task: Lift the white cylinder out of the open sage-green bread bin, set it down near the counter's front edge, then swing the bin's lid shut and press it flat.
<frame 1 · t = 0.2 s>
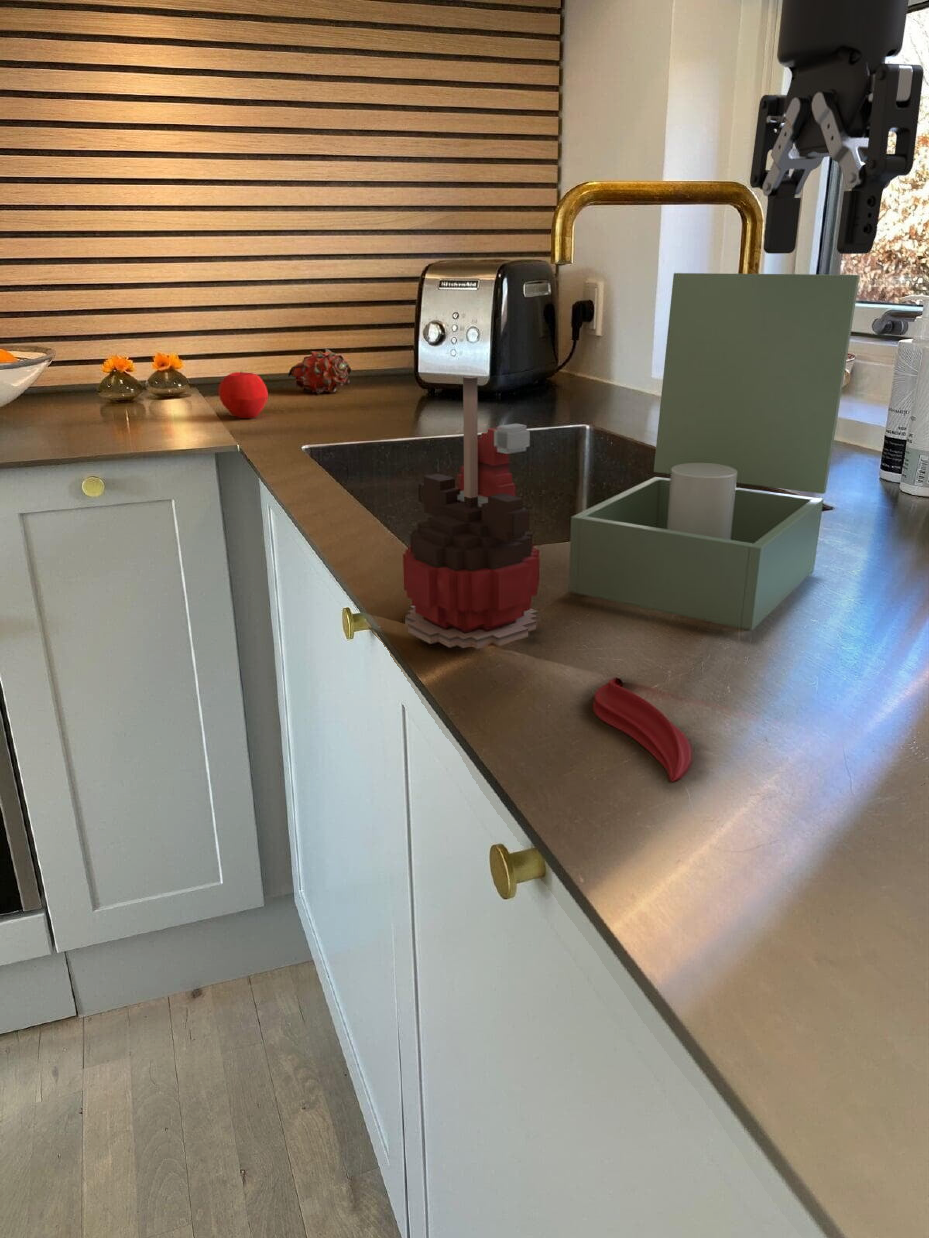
hand: (813, 253, 65), 25 cm above the countertop, tool pointing down, fingers open, 8 cm apart
bin lid: (756, 380, 78), point 15 cm above the countertop, hinge at 95.0°
cake: (471, 633, 68), on the countertop
cayenne pepper: (637, 730, 55), on the countertop
bread bin: (693, 589, 76), on the countertop
white cylinder: (694, 579, 76), point 1 cm above the countertop, touching bread bin
dragon fruit: (321, 393, 178), on the countertop
apple: (245, 418, 154), on the countertop
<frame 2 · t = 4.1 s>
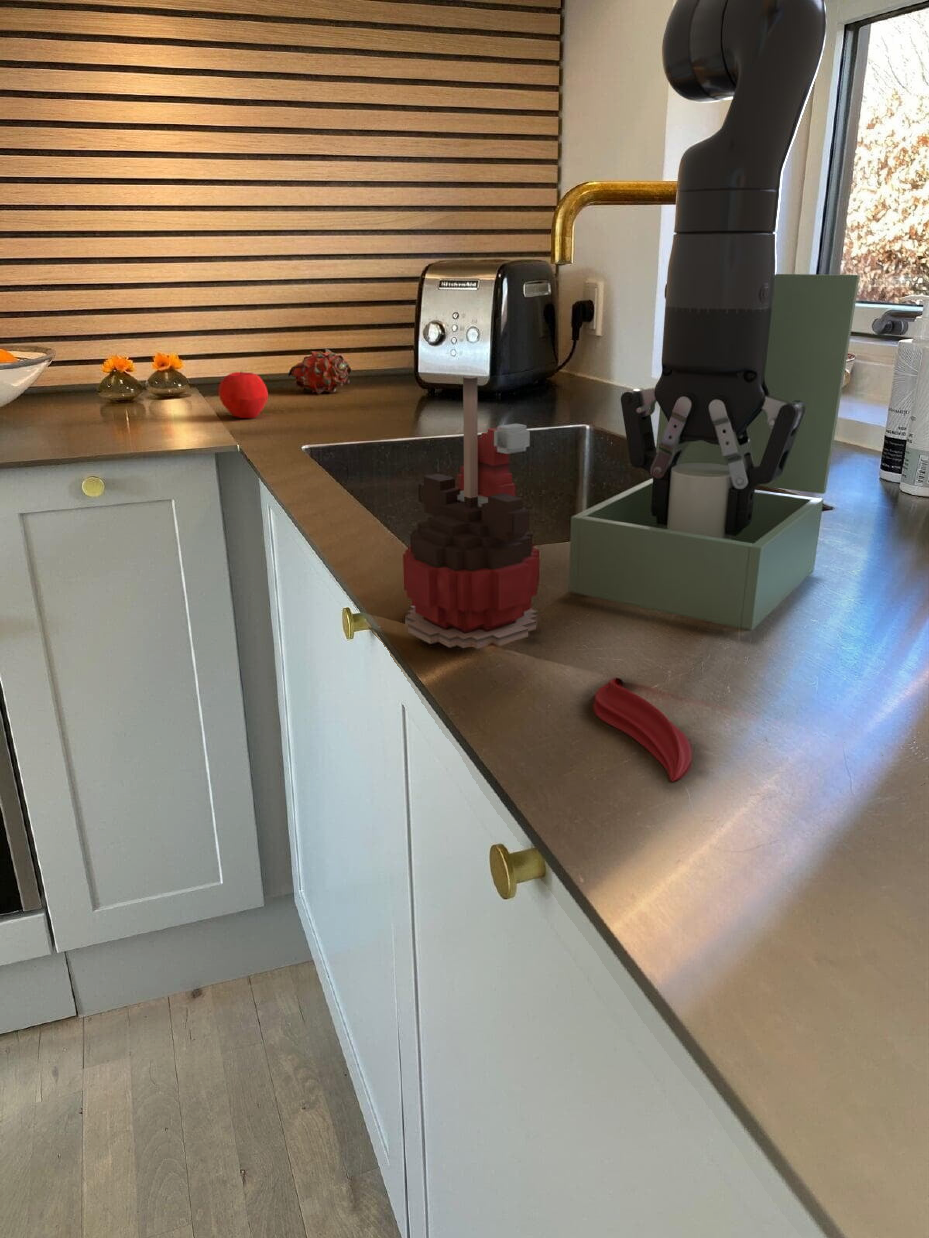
hand: (698, 527, 74), 5 cm above the countertop, tool pointing down, fingers closed on white cylinder, 5 cm apart
white cylinder: (694, 579, 76), point 1 cm above the countertop, touching bread bin, gripper
everything else where it was.
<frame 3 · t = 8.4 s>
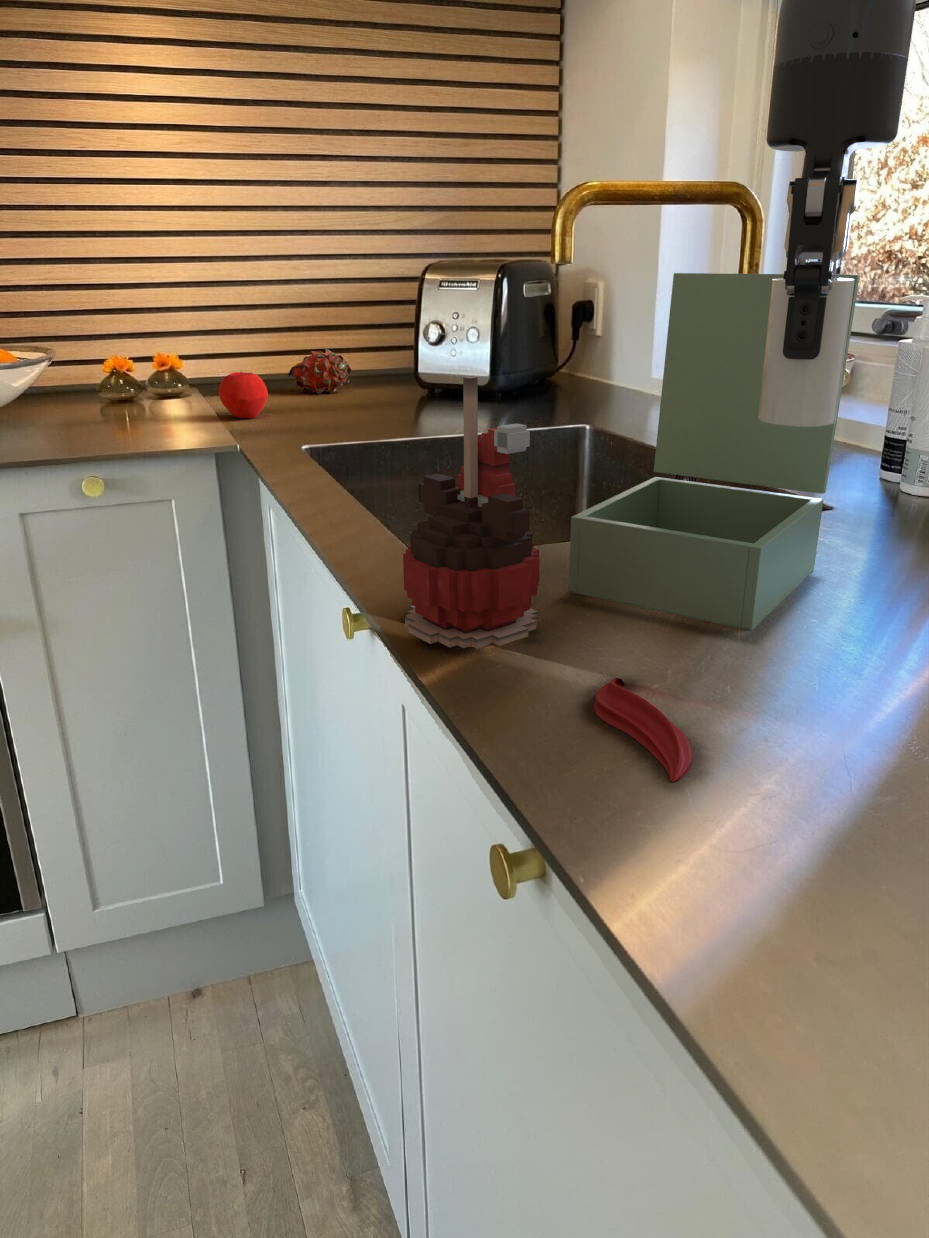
hand: (804, 352, 62), 19 cm above the countertop, tool pointing down, fingers closed on white cylinder, 5 cm apart
white cylinder: (795, 420, 64), point 15 cm above the countertop, touching gripper
everything else where it was.
when the fingers open (4 cm above the countertop, at t = 12.7 s): white cylinder stays where it is, on the countertop.
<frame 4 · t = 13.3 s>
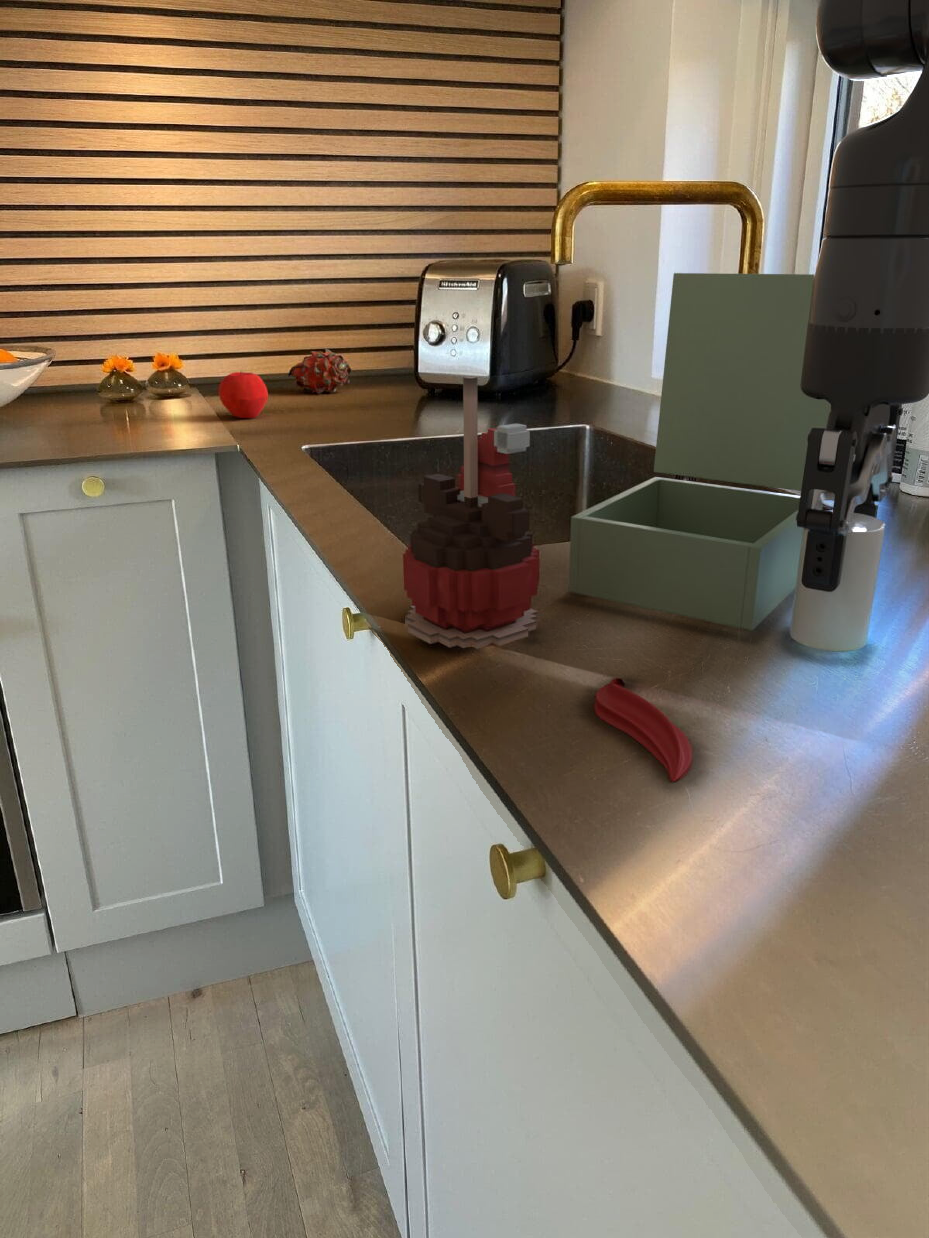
hand: (837, 570, 63), 6 cm above the countertop, tool pointing down, fingers open, 8 cm apart
white cylinder: (826, 646, 65), on the countertop
everything else where it was.
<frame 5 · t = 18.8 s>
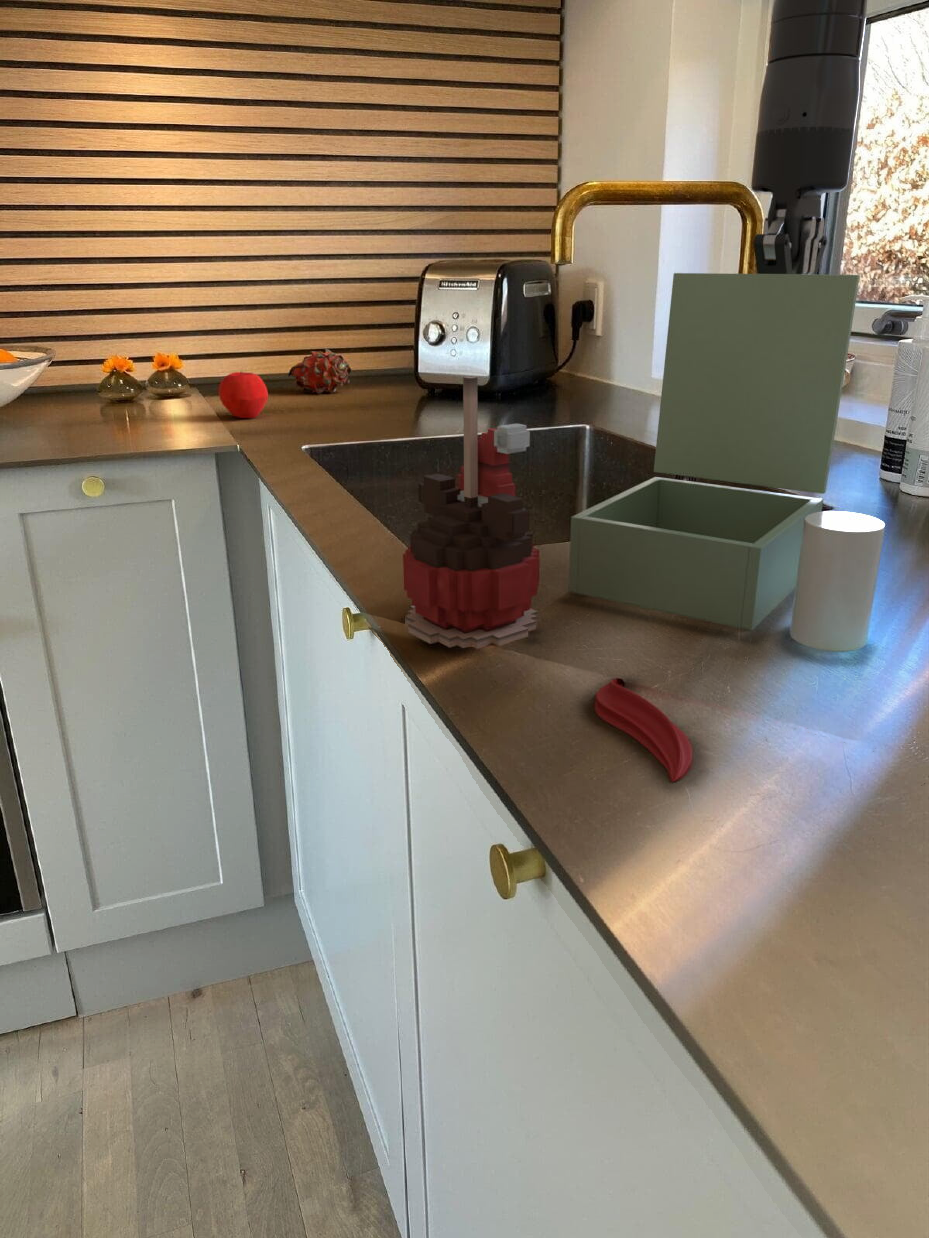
hand: (779, 350, 82), 17 cm above the countertop, tool pointing down, fingers closed
bin lid: (756, 380, 78), point 15 cm above the countertop, hinge at 95.0°, touching gripper
everything else where it was.
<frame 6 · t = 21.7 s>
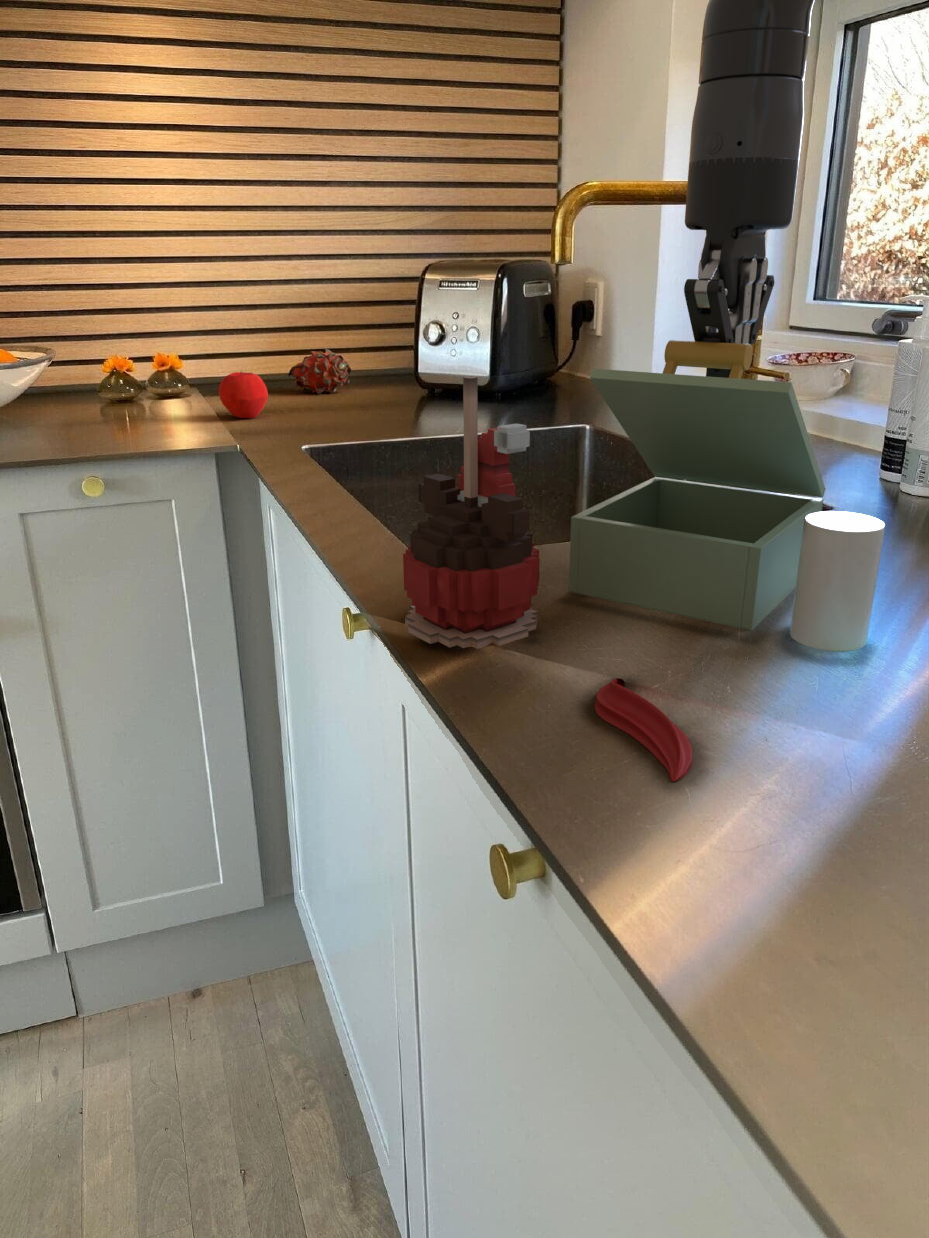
hand: (720, 405, 73), 14 cm above the countertop, tool pointing down, fingers closed
bin lid: (720, 412, 73), point 14 cm above the countertop, hinge at 37.0°, touching gripper
everything else where it was.
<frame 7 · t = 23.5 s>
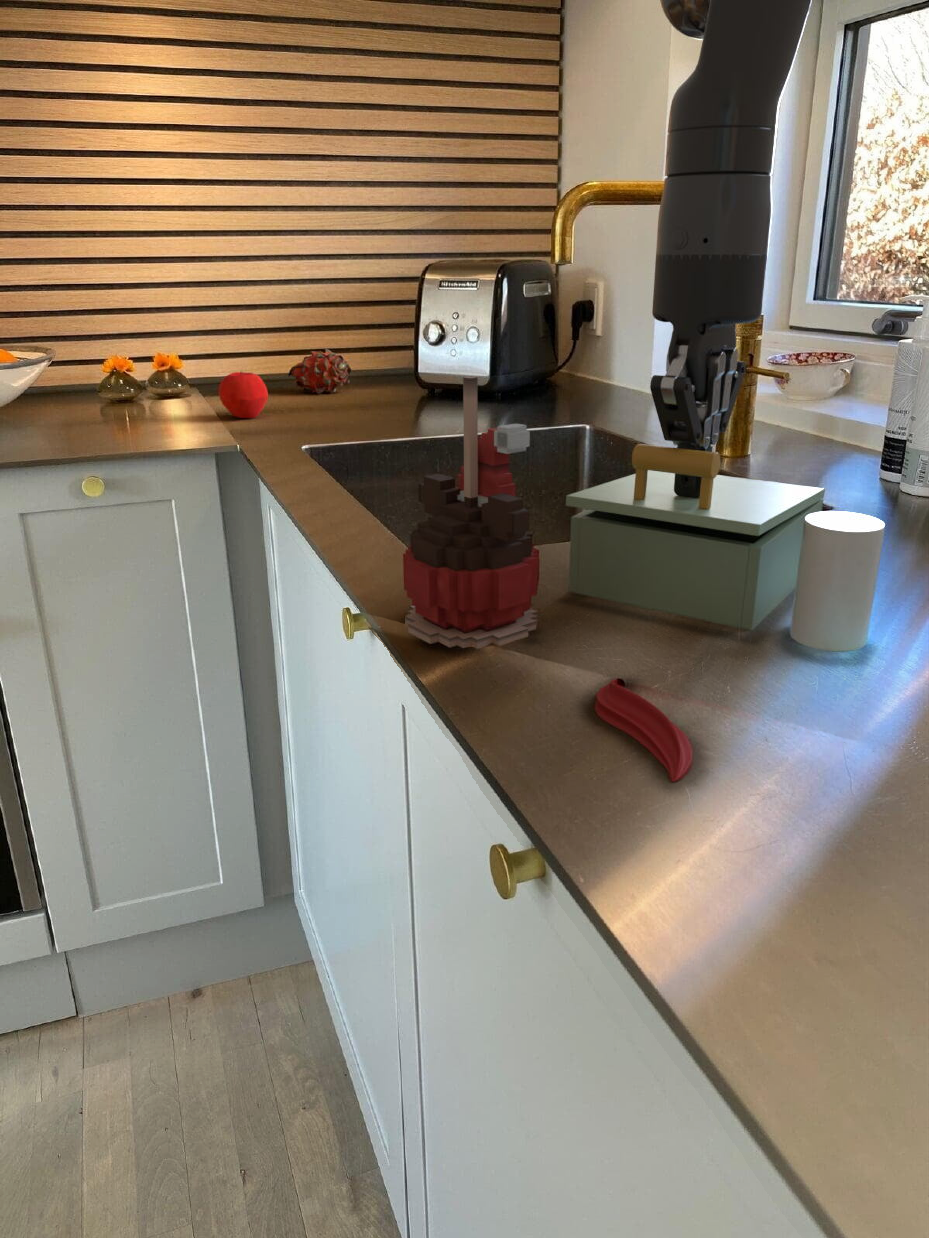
hand: (690, 494, 71), 8 cm above the countertop, tool pointing down, fingers closed
bin lid: (702, 471, 72), point 10 cm above the countertop, hinge at 3.4°, touching gripper
everything else where it was.
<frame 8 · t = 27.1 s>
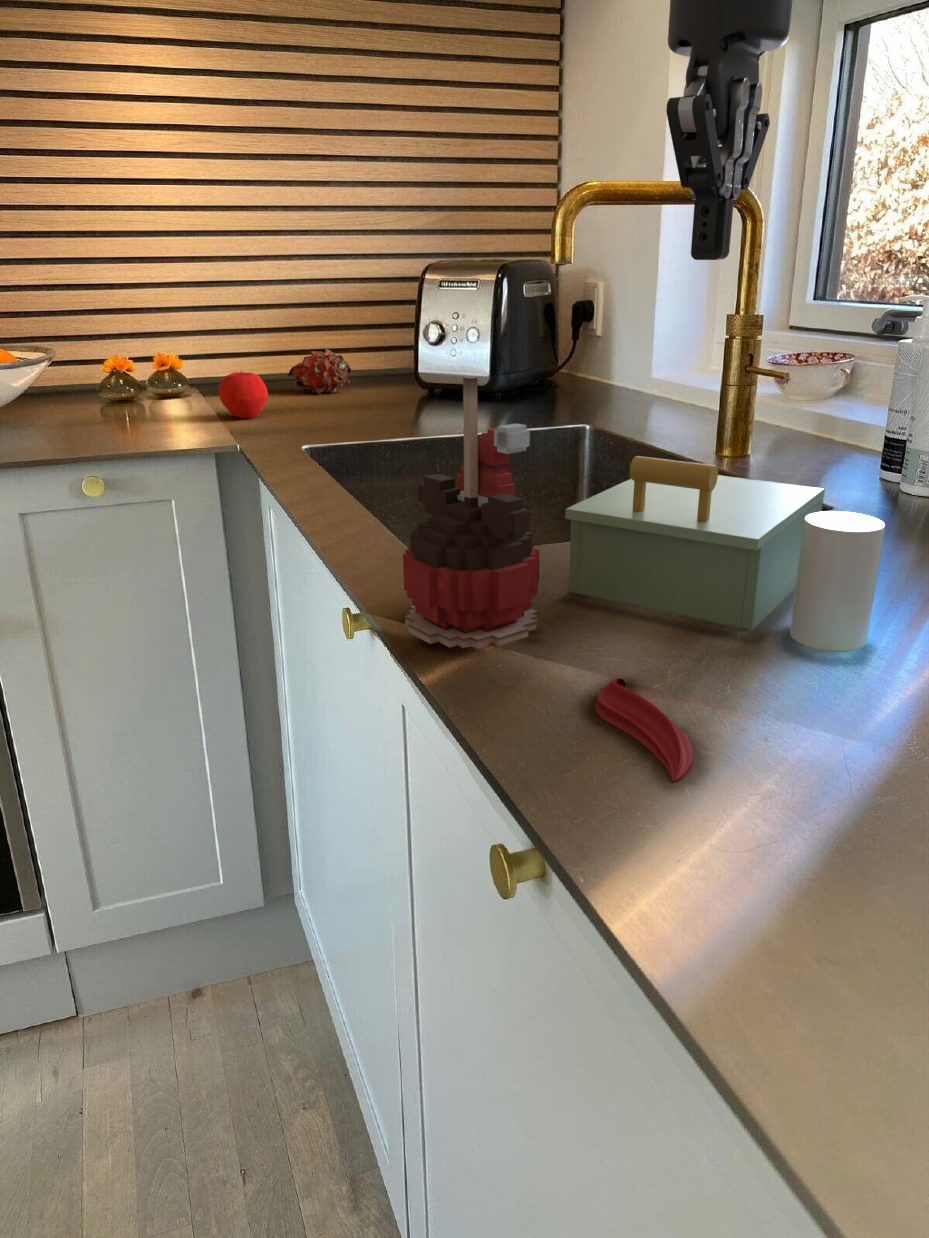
hand: (709, 259, 65), 25 cm above the countertop, tool pointing down, fingers closed
bin lid: (701, 477, 72), point 9 cm above the countertop, hinge at 0.0°
everything else where it was.
at the end: white cylinder inside the target area (0.0 cm from its centre), on the countertop; white cylinder tilted 0°; bin lid at +0° (first picture: +95°) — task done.
